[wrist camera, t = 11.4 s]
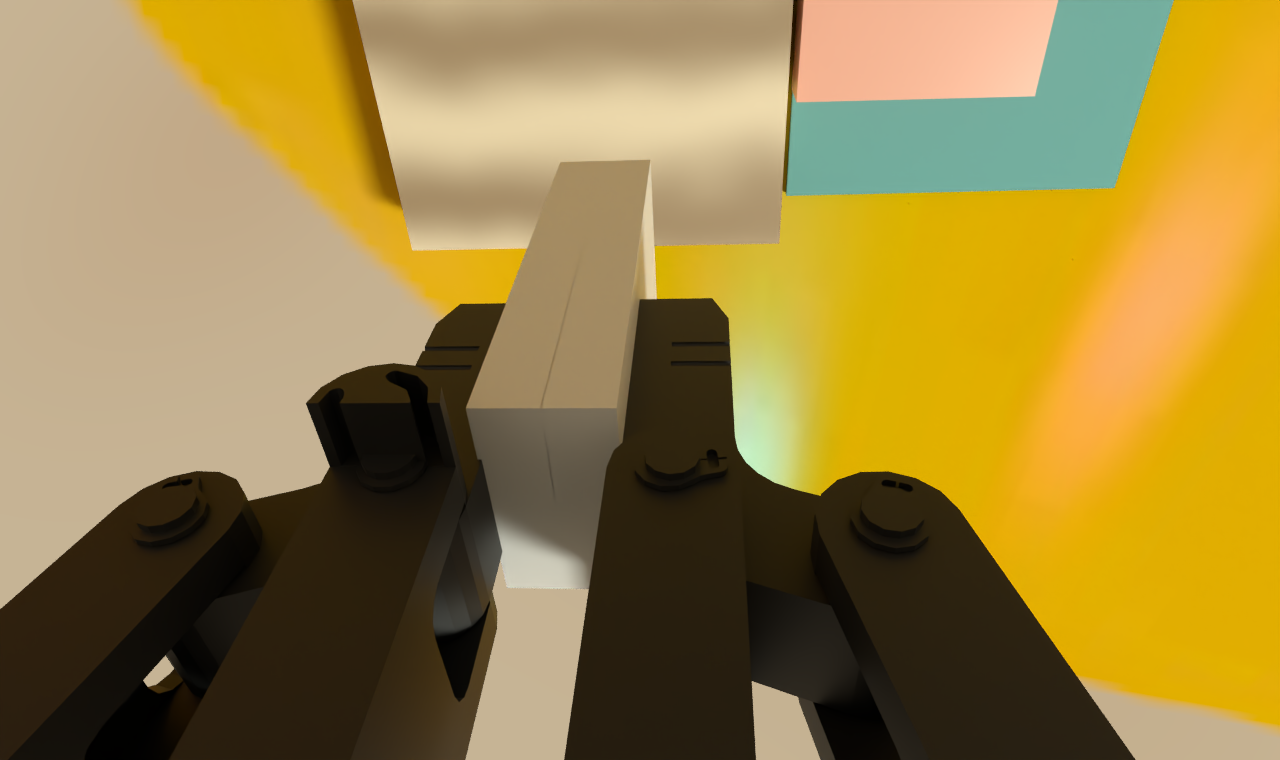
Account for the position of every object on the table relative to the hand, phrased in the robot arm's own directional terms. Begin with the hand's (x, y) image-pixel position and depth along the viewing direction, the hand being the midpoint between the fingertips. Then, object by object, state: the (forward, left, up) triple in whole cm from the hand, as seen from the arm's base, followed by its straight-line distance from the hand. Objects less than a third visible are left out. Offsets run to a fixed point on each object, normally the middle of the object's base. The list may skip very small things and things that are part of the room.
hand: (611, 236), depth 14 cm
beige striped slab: (0, -3, -21) cm, 22 cm away
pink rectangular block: (+1, +10, -21) cm, 23 cm away
